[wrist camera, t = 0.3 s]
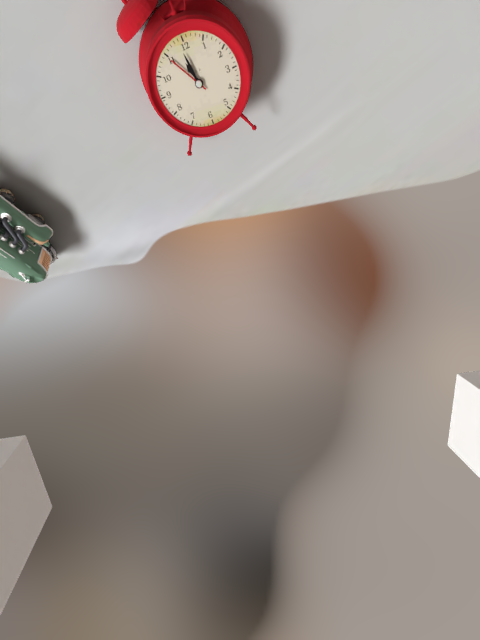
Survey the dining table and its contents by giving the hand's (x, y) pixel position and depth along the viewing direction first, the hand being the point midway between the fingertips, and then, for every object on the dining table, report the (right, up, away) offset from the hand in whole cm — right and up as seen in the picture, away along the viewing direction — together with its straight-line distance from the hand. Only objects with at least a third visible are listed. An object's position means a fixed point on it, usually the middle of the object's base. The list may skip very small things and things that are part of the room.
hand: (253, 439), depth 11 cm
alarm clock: (-5, +28, +21) cm, 36 cm away
